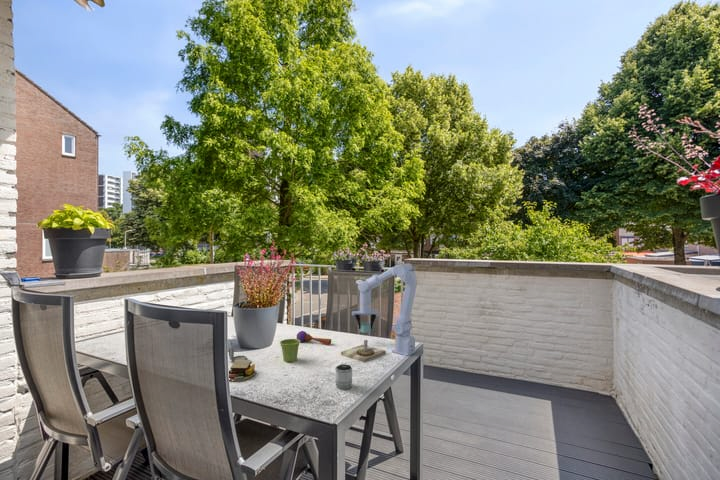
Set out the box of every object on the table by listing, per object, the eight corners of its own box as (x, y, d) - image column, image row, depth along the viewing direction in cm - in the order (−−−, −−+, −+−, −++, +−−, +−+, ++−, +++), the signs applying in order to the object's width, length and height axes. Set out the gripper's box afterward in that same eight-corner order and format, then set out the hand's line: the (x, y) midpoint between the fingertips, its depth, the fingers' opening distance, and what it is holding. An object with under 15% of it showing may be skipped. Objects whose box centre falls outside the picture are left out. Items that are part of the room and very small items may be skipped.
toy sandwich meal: (217, 381, 136) (217, 369, 136) (233, 369, 150) (233, 358, 150) (248, 383, 135) (248, 371, 135) (261, 370, 149) (261, 359, 149)
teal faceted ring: (372, 331, 185) (372, 323, 185) (365, 333, 181) (365, 325, 181) (364, 329, 189) (364, 322, 189) (358, 331, 185) (358, 323, 185)
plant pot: (275, 360, 160) (275, 341, 160) (292, 355, 167) (292, 337, 167) (287, 365, 154) (287, 345, 154) (304, 359, 161) (304, 341, 161)
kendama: (327, 339, 181) (294, 332, 188) (327, 349, 182) (294, 342, 189) (332, 334, 186) (300, 328, 193) (332, 344, 188) (300, 338, 195)
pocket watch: (249, 358, 162) (249, 337, 162) (236, 364, 154) (236, 342, 154) (236, 356, 165) (236, 335, 166) (222, 362, 158) (222, 340, 158)
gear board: (385, 353, 170) (385, 342, 170) (364, 362, 158) (364, 350, 158) (362, 347, 180) (362, 336, 180) (340, 354, 168) (341, 343, 168)
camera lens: (339, 382, 136) (340, 362, 136) (354, 384, 133) (354, 364, 133) (332, 388, 130) (332, 367, 130) (347, 391, 127) (347, 370, 127)
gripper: (378, 301, 190) (378, 326, 190) (351, 302, 189) (351, 327, 189) (379, 304, 183) (379, 330, 183) (352, 304, 182) (352, 330, 182)
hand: (365, 328), depth 185 cm, fingers closed on teal faceted ring, 6 cm apart
